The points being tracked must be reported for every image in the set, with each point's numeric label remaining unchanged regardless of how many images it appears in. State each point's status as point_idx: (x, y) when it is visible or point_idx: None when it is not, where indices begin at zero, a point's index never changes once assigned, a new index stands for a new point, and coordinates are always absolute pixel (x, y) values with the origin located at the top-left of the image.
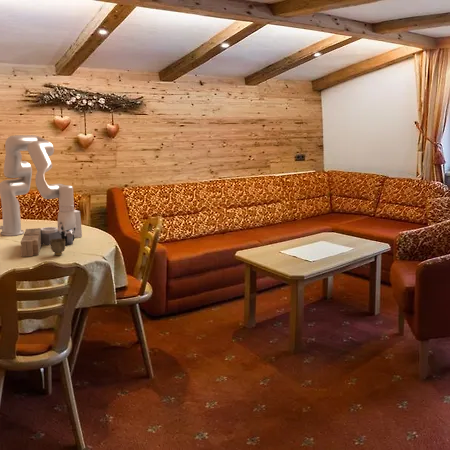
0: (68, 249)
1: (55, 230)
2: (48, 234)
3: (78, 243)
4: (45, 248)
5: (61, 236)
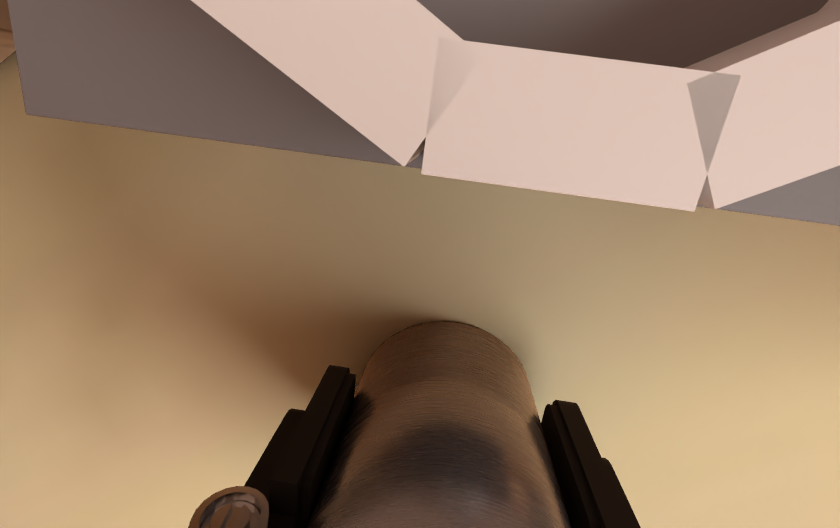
0: (169, 522)
1: (497, 178)
2: (31, 93)
3: None
4: (34, 191)
5: (283, 459)
